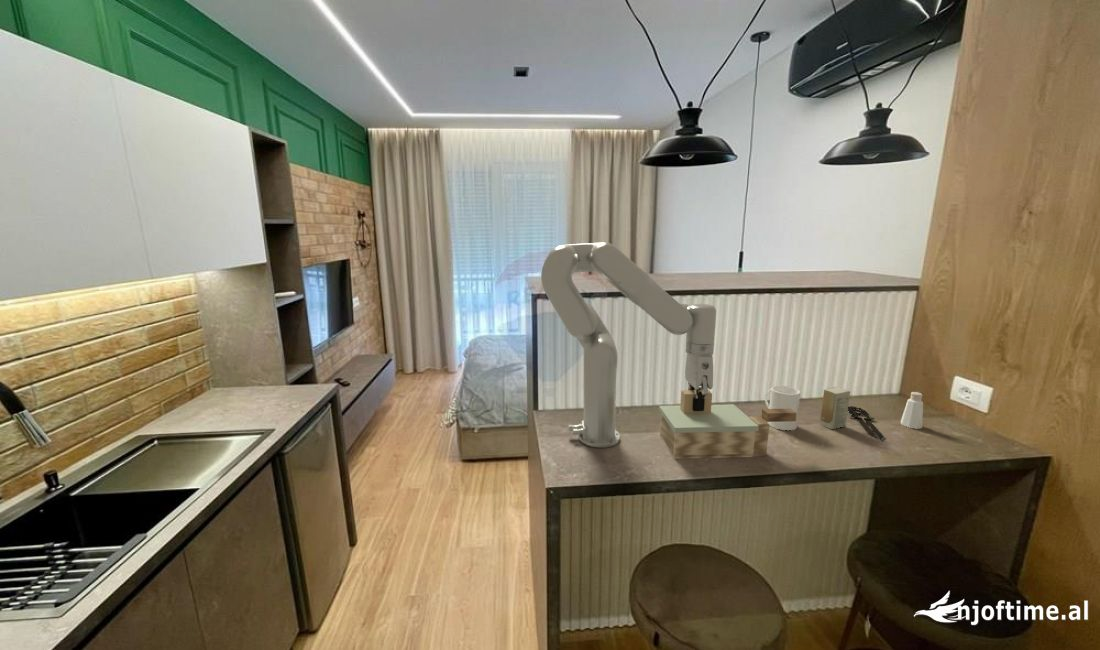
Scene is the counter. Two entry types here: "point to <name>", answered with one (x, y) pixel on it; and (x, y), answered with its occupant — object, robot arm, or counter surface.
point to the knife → (868, 421)
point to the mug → (783, 404)
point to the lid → (705, 416)
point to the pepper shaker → (913, 412)
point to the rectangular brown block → (778, 415)
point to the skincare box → (834, 407)
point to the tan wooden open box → (716, 442)
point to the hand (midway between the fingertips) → (695, 407)
